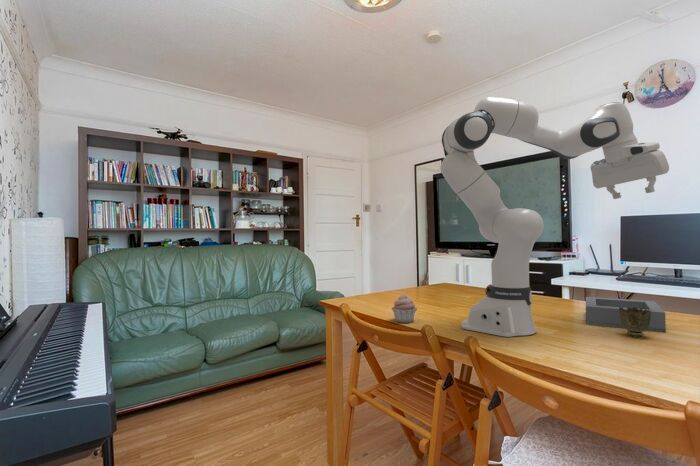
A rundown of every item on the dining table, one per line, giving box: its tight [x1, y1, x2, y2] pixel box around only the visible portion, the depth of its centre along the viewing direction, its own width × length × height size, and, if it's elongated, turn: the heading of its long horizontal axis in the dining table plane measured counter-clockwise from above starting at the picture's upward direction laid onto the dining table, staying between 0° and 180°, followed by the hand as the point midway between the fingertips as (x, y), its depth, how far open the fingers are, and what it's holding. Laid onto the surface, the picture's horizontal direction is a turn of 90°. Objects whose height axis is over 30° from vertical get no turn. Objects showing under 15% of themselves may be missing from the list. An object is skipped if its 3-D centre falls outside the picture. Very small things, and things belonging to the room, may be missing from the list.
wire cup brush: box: [619, 307, 651, 338], centre depth 102 cm, size 8×7×8 cm
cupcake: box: [391, 293, 418, 324], centre depth 127 cm, size 9×9×10 cm
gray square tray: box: [585, 296, 667, 333], centre depth 119 cm, size 20×20×6 cm
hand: (633, 195), depth 110 cm, fingers open, 8 cm apart
